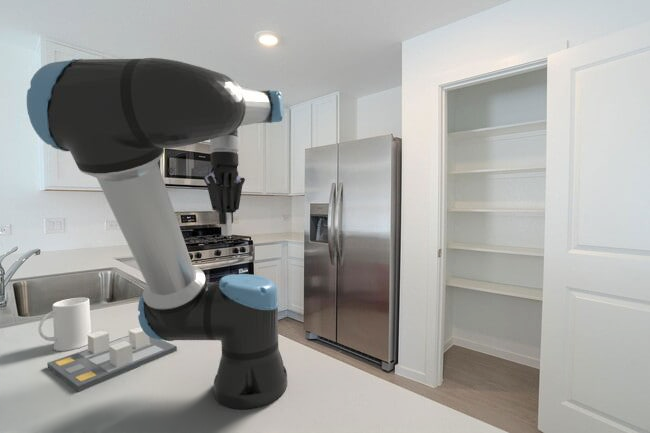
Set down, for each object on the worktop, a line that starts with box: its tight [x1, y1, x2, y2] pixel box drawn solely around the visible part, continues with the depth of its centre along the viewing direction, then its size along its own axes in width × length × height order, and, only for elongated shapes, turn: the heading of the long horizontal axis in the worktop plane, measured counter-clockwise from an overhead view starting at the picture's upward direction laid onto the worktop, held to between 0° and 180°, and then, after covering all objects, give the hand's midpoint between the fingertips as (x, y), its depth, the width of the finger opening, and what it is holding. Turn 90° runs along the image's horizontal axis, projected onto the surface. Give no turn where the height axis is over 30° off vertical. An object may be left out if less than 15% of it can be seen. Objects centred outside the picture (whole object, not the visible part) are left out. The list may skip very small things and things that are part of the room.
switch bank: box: [46, 335, 178, 392], centre depth 83 cm, size 18×22×1 cm
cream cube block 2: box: [128, 326, 150, 348], centre depth 88 cm, size 4×4×4 cm
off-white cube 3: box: [87, 330, 110, 354], centre depth 85 cm, size 4×4×4 cm
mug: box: [38, 297, 92, 352], centre depth 90 cm, size 12×8×12 cm
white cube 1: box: [109, 341, 133, 367], centre depth 78 cm, size 4×4×4 cm
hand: (226, 235), depth 95 cm, fingers closed
